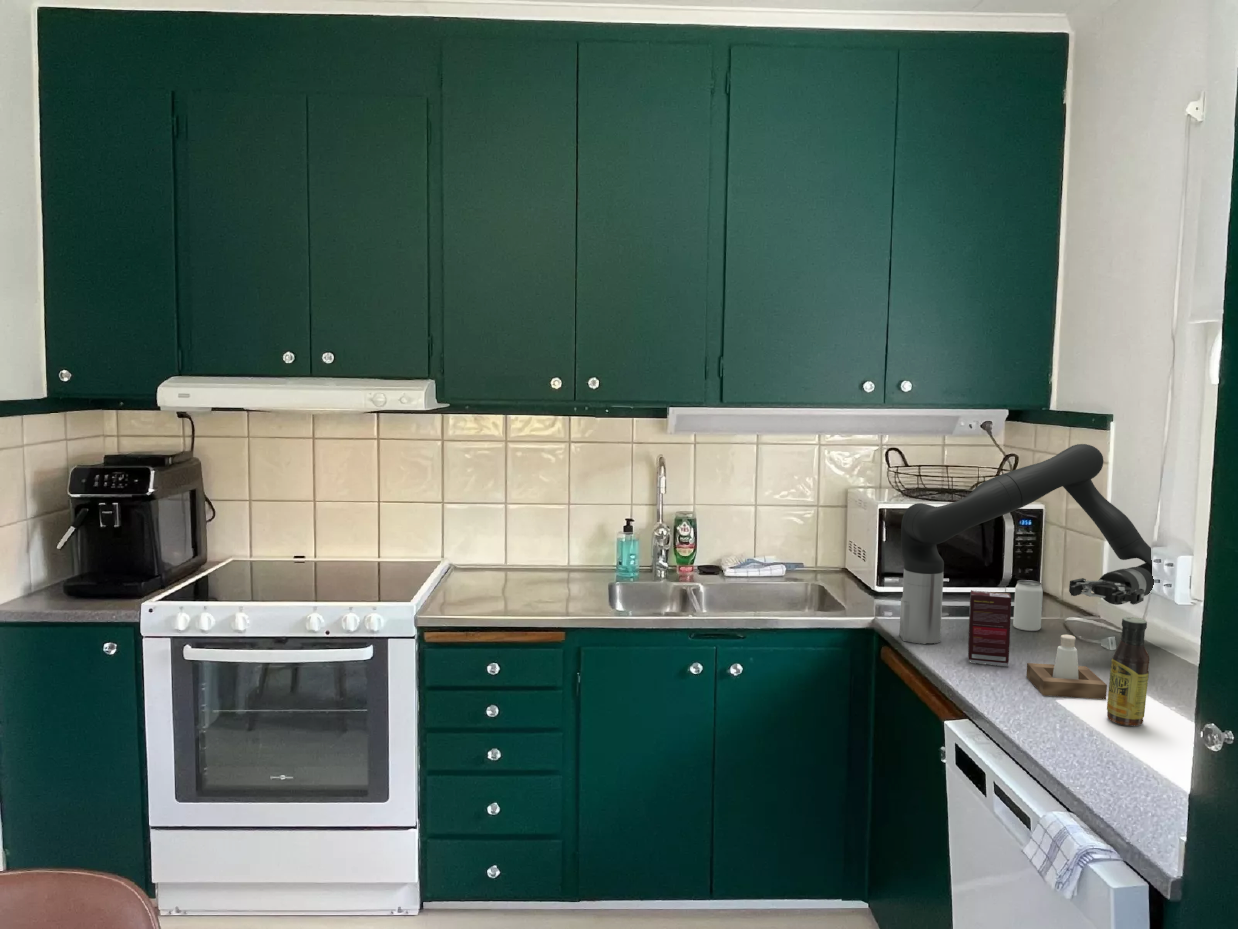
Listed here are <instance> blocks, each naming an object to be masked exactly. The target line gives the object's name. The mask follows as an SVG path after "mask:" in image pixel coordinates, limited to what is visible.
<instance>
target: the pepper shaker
mask: <svg viewBox="0 0 1238 929" xmlns="http://www.w3.org/2000/svg"><path fill="white" fill-rule="evenodd" d="M1075 645H1076V637H1075V636H1074V635H1072V634H1062V635H1060V645H1059V646H1057V650H1056V655H1055V661H1054V664H1053V665H1054V671H1053V676H1052V677H1053V678H1063V679H1079V676H1078V666H1079V660H1078V657H1079V656H1078V649H1077V648H1076V647H1075Z"/></svg>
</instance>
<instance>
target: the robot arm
mask: <svg viewBox="0 0 1238 929" xmlns="http://www.w3.org/2000/svg"><path fill="white" fill-rule="evenodd" d="M1103 466H1104V456H1103V454H1102V452H1101V451H1100V450H1099V449H1098V448H1097V447H1096V446H1094V445H1091V444H1086V443H1080V444H1079V443H1077V444H1074V445H1071V446H1069V447H1067V448H1066V449H1064V450H1062V451H1061V452H1059V453H1057V454H1056V455H1054V456H1053V457H1050V458H1048V459H1046V460H1043V461H1040V462H1037V463H1034V464H1030V465H1026V466H1023V467H1020V468H1016V469H1014V470H1011V471H1008V472H1005V473H1002V474H1000V475H997V476H995V477H992V478H990V479H987V480H985V481H983V482H982V483H980V484H979V485H978V486H976V487H975V488H974V489H973V490H972V491H971V492H970V493H969V494H968V495H966V496H965V497H963V498H961V499H959V500H956V501H954V502H951V503H947V504H943V505H940V506H934V505H930V504H927V503H919V502H917V503H913V504H912V505H910V506H909V507H908V508H906V510H905V512H904V513H903V515H902V519H901V524H900V526H901V529H900V531H901V532H900V534H901V535H900V544H901V545H900V547H901V548H900V552H901V557H902V560H903V580H902V582H903V583H902V596H901V598H900V612H899V613H900V615H899V630H898V631H899V634H898V635H899V636H900V638H901V640H902V641H903V642H909V643H914V644H920V643H934V644H938V643H940V642H941V635H942V631H941V629H942V614H943V613H942V611H943V589H944V571H945V562H944V560H943V557H942V556H941V555H940V554H939V552H938V548H937V545H939V544H942V543H944V542H946V541H948V540H949V539H952V538H954V537H955V536H957V535H959V534H961V533H963V532H965V531H967V530H969V529H971V528H973V527H975V526H978V525H981V524H984V523H987V522H989V521H990V520H993V519H996V518H998V517H1001V516H1004V515H1007V514H1009V513H1013V512H1014V511H1016V510H1019V509H1022V508H1023V507H1026V506H1028V505H1029V504H1032V503H1034V502H1036V501H1038V500H1039V499H1041V498H1043V497H1045V496H1046V495H1048V494H1050V493H1051V492H1053V491H1055V490H1057V489H1059V488H1063V489H1064V490H1065V491H1066V492H1067V493H1068V495H1070V496H1071V498H1072V499H1073V500H1074V501H1075V502H1076V503H1077V504H1078V505H1079V506H1080V507H1081V509H1082V510H1084V511H1083V512H1085V513H1086V514H1087V516H1088V517H1089V518H1090V519H1091V520H1092V521H1093V524H1095V525H1096V526H1097V529H1098V530H1099V531H1100V532H1101V534H1102V536H1103V537H1104V539H1105V540H1106V542H1107V543H1108V545H1109V547H1110V548H1111V549H1112V550H1113V552H1114V554H1115V555H1116V557H1117V558H1118V559H1119V560H1121V561H1127V560H1133V559H1137V560H1138V559H1139V560H1141V561H1143V562H1144V563H1142V564H1140V565H1138V566H1132V567H1126V568H1120V569H1115V570H1113V571H1109V572H1105V573H1104V574H1103V575H1102V576H1101V577H1100V578H1099V579H1098V580H1087V579H1086V578H1084V577H1081V578H1076V579H1072V580H1069V587H1068V592H1069V594H1070V596H1073V597H1076V596H1079V595H1085V596H1086V597H1090V598H1091V597H1092V598H1093V597H1095V598H1100V599H1103V600H1104V601H1105V602H1106V603H1107V604H1111V605H1115V606H1118V605H1124V604H1127V603H1130V604H1131V605H1137V604H1141V602H1144V598H1145V597H1147V596H1149V595H1150V594H1149V593H1150V591H1151V590H1152V588H1153V585H1154V579H1153V576H1152V560H1151V548H1152V547H1151V546H1150V545H1149V544H1148V543H1147V542H1146V541H1145V540H1144V538H1143V537H1142V536H1141V534H1140V532H1139V531H1138V529H1137V528H1136V526H1135V525H1134V523H1133V522H1132V520H1130V518H1129V517H1128V516H1127V515H1125V513H1124V512H1123V511H1122V510H1120V509H1119V508H1117V507H1116V506H1115V505H1114V504H1113V503H1111V502H1110V501H1109V500H1108V499H1106V498H1105V497H1104V496H1103V495H1102V494H1101V492H1100V491H1099V490H1098V488H1097V487H1096V486H1095V485H1094V482H1093V480H1092V479H1094V478H1096V476H1098V475H1099V474H1100V472H1101V471H1102V469H1103ZM1148 594H1149V595H1148Z"/></svg>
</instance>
